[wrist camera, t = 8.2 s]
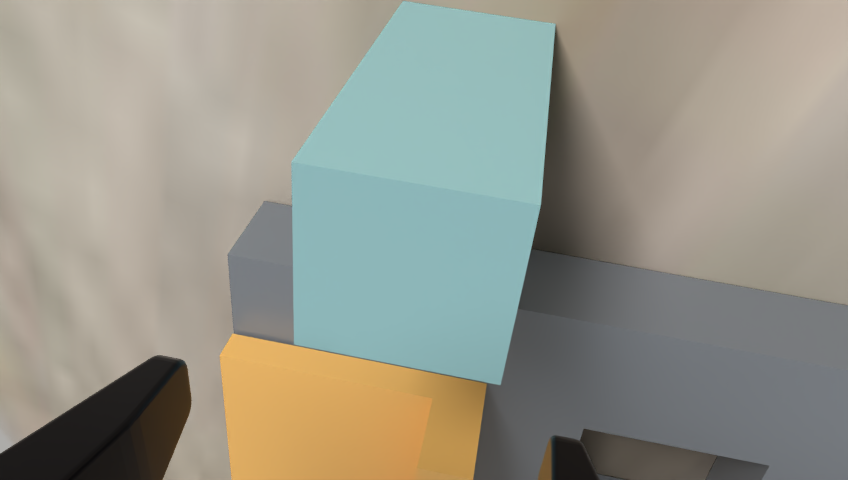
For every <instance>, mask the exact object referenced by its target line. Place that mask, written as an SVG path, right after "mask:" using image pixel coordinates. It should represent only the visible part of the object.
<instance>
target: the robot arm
mask: <svg viewBox="0 0 848 480" xmlns="http://www.w3.org/2000/svg"><path fill="white" fill-rule="evenodd" d="M190 409H191V392H190V384H189V377H188V369H187V365H186V363H185V362H184V361H183V360H181V359H177V358H172V357H167V356H162V355H157V356H154V357H152V358H150V359H148V360H147V361H145V362H144V363H142V364H140V365H139V366H137V367H136V368H134V369H133V370H131V371H129V372H128V373H126V374H125V375H123V376H122V377H120V378H118V379H117V380H115V381H114V382H112V383H111V384H109V385H107V386H106V387H104V388H103V389H101V390H100V391H98V392H96V393H95V394H93V395H92V396H90V397H89V398H87V399H85V400H84V401H82V402H81V403H79V404H77V405H76V406H74V407H73V408H71V409H70V410H68V411H66V412H65V413H63V414H62V415H60V416H59V417H57V418H55V419H54V420H52V421H51V422H49V423H48V424H46V425H44V426H43V427H41V428H40V429H38V430H37V431H35V432H33V433H32V434H30V435H29V436H27V437H26V438H24V439H22V440H21V441H19V442H18V443H16V444H15V445H13V446H11V447H10V448H8V449H7V450H5V451H4V452H2V453H0V480H163V477H164V475H165V472H166V470H167V467H168V465H169V462H170V460H171V458H172V455H173V453H174V450H175V448H176V445H177V443H178V440H179V438H180V435H181V433H182V431H183V428H184V426H185V423H186V421H187V418H188V416H189V413H190ZM538 480H600V479H599V476H598V474H597V472H596V470H595V468H594V466H593V464H592V462H591V459H590V457H589V455H588V453H587V451H586V449H585V447H584V445H583V443H582V442H581V441H579V440H577V439H573V438H568V437H563V436H558V435H554V436H551V438H550V439H549V441H548V445H547V448H546V451H545V455H544V458H543V461H542V465H541V468H540V471H539V475H538Z"/></svg>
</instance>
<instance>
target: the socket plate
mask: <svg viewBox="0 0 848 480" xmlns="http://www.w3.org/2000/svg"><path fill="white" fill-rule="evenodd" d="M228 265H229V278H230V291H231V303H232V316H233V329H234V334H238V335H243V336H248V337H253V338H258V339H263V340H268V341H273V342H278V343H283V344H288V345H293V346H299V345H294V309H293V235H292V206H289V205H283V204H278V203H272V202H267V201H264V203H263V204H262V206H261V207H260V208H259V210H258V211H257V213H256V214H255V216H254V217H253V219H252V220H251V221H250V223H249V224H248V226H247V227H246V229H245V230H244V232H243V233H242V234H241V236H240V237H239V239H238V240H237V242H236V243H235V245H234V246H233V247H232V249H231V250H230V252H229V253H228ZM299 347H304V346H299ZM304 348H309V347H304ZM309 349H314V348H309ZM314 350H319V349H314ZM319 351H324V350H319ZM324 352H329V351H324ZM329 353H334V352H329ZM334 354H339V355H344V356H349V357H354V358H359V359H364V360H370V359H365V358H360V357H355V356H350V355H345V354H340V353H334ZM370 361H375V360H370ZM375 362H380V361H375ZM380 363H385V362H380ZM385 364H390V363H385ZM390 365H395V364H390ZM395 366H400V365H395ZM400 367H405V368H410V369H415V370H420V371H425V372H430V373H436V372H431V371H426V370H421V369H416V368H411V367H406V366H400ZM436 374H441V373H436ZM441 375H446V374H441ZM446 376H451V375H446ZM451 377H456V376H451ZM456 378H461V377H456ZM461 379H466V378H461ZM466 380H471V381H476V382H481V383H486V384H487V386H486V393H485V400H484V407H483V414H482V421H481V428H480V435H479V442H478V449H477V456H476V463H475V470H474V477H473V480H538V475H539V471H540V468H541V465H542V461H543V458H544V455H545V451H546V448H547V445H548V441H549V439H550V438H551V436H554V435H558V436H563V437H568V438H573V439H577V440H579V441H580V438H581V436H582V433H583V430H584V429H588V430H593V431H598V432H603V433H608V434H613V435H618V436H623V437H628V438H633V439H638V440H643V441H648V442H653V443H658V444H663V445H668V446H673V447H678V448H683V449H688V450H693V451H698V452H703V453H708V454H713V455H718V457H717V459H716V460H715V462H714V464H713V466H712V468H711V470H710V472H709V474H708V476H707V478H706V480H848V306H847V305H841V304H836V303H830V302H824V301H819V300H813V299H808V298H802V297H797V296H791V295H785V294H780V293H774V292H769V291H763V290H757V289H752V288H746V287H741V286H735V285H730V284H724V283H718V282H713V281H707V280H702V279H696V278H691V277H685V276H679V275H674V274H668V273H663V272H657V271H651V270H646V269H640V268H635V267H629V266H624V265H618V264H612V263H607V262H601V261H596V260H590V259H585V258H579V257H573V256H568V255H562V254H557V253H551V252H546V251H540V250H534V249H531V252H530V256H529V261H528V265H527V269H526V274H525V278H524V283H523V287H522V292H521V296H520V301H519V305H518V310H517V314H516V319H515V323H514V327H513V332H512V336H511V341H510V345H509V350H508V354H507V359H506V363H505V368H504V372H503V377H502V381H501V385H497V384H492V383H487V382H482V381H477V380H472V379H466ZM598 476H599V479H600V480H624V479H619V478H614V477H609V476H604V475H600V474H598Z"/></svg>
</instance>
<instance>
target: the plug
mask: <svg viewBox="0 0 848 480" xmlns="http://www.w3.org/2000/svg"><path fill="white" fill-rule="evenodd" d="M554 37H555V24H552V23H546V22H539V21H533V20H526V19H519V18H513V17H506V16H499V15H493V14H486V13H479V12H473V11H466V10H460V9H453V8H446V7H440V6H433V5H426V4H420V3H413V2H407V1H403V2H402V3H401V5H400V6H399V8H398V9H397V10H396V12H395V13H394V15H393V16H392V18H391V19H390V21H389V22H388V23H387V25H386V26H385V28H384V29H383V31H382V32H381V34H380V35H379V36H378V38H377V39H376V41H375V42H374V44H373V45H372V47H371V48H370V49H369V51H368V52H367V54H366V55H365V57H364V58H363V60H362V61H361V62H360V64H359V65H358V67H357V68H356V70H355V71H354V73H353V74H352V75H351V77H350V78H349V80H348V81H347V83H346V84H345V85H344V87H343V88H342V90H341V91H340V93H339V94H338V96H337V97H336V98H335V100H334V101H333V103H332V104H331V106H330V107H329V109H328V110H327V111H326V113H325V114H324V116H323V117H322V119H321V120H320V122H319V123H318V124H317V126H316V127H315V129H314V130H313V132H312V133H311V135H310V136H309V137H308V139H307V140H306V142H305V143H304V145H303V146H302V148H301V149H300V150H299V152H298V153H297V155H296V156H295V158H294V159H293V161H292V235H293V309H294V345H299V346H304V347H309V348H314V349H319V350H324V351H329V352H334V353H340V354H345V355H350V356H355V357H360V358H365V359H370V360H375V361H380V362H385V363H390V364H395V365H400V366H406V367H411V368H416V369H421V370H426V371H431V372H436V373H441V374H446V375H451V376H456V377H461V378H466V379H472V380H477V381H482V382H487V383H492V384H497V385H501V381H502V377H503V372H504V368H505V363H506V359H507V354H508V350H509V345H510V341H511V336H512V332H513V327H514V323H515V319H516V314H517V310H518V305H519V301H520V296H521V292H522V287H523V283H524V278H525V274H526V269H527V265H528V261H529V256H530V252H531V247H532V243H533V238H534V234H535V229H536V225H537V220H538V216H539V211H540V207H541V198H542V185H543V173H544V160H545V148H546V136H547V123H548V111H549V99H550V86H551V74H552V61H553V49H554Z"/></svg>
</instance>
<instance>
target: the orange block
mask: <svg viewBox="0 0 848 480" xmlns="http://www.w3.org/2000/svg"><path fill="white" fill-rule="evenodd" d="M220 363H221V374H222V384H223V394H224V405H225V415H226V426H227V436H228V446H229V457H230V467H231V477H232V480H473V477H474V470H475V463H476V456H477V449H478V442H479V435H480V428H481V421H482V414H483V407H484V400H485V393H486V386H487V384H486V383H481V382H476V381H471V380H466V379H461V378H456V377H451V376H446V375H441V374H436V373H430V372H425V371H420V370H415V369H410V368H405V367H400V366H395V365H390V364H385V363H380V362H375V361H370V360H364V359H359V358H354V357H349V356H344V355H339V354H334V353H329V352H324V351H319V350H314V349H309V348H304V347H299V346H293V345H288V344H283V343H278V342H273V341H268V340H263V339H258V338H253V337H248V336H243V335H238V334H232V336H231V337H230V339H229V341H228V342H227V344H226V346H225V348H224V349H223V351H222V353H221V354H220Z"/></svg>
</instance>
